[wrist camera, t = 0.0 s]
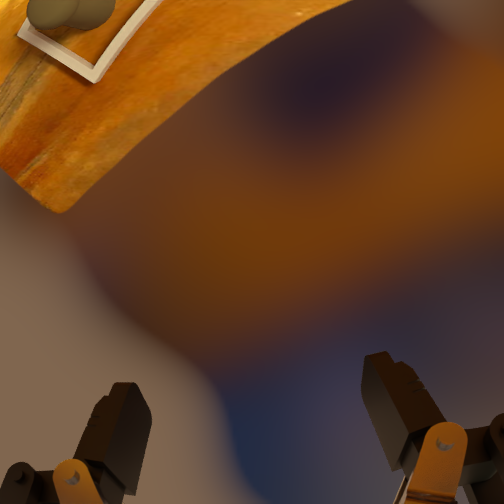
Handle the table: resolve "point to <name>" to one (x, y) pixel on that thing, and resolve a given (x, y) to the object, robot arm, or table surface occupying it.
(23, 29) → the white square frame
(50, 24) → the cork
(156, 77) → the table surface
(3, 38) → the table surface
